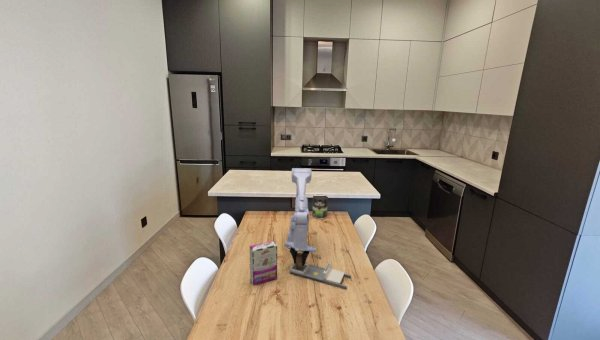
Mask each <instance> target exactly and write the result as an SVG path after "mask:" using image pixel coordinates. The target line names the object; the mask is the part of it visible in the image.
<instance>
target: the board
mask: <svg viewBox="0 0 600 340" xmlns="http://www.w3.org/2000/svg"><path fill="white" fill-rule="evenodd" d="M324 270H325V268H324V267H321V266H317V265H316V266H315V265H312V264H309V263H305V265H304V266H303V269H297V268H296V264H294V263H293V264H292V265H291V266H290V268H289V274H290V275H292V276H296V277H300V278H304V279H307V280H311V281H315V282H318V283H322V284H325V285H329V286H333V287H336V288H339V289H344V290H347V288H348V286H347V285H344V284H340V285H339V284H335V283H332V282H328V281H324V280H323V272H324ZM343 278H347V279H352V275H350V274H347V273H345V274H344V276H343Z"/></svg>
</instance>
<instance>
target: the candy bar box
mask: <svg viewBox="0 0 600 340" xmlns="http://www.w3.org/2000/svg"><path fill="white" fill-rule="evenodd" d="M249 276H250V277H249V278H250V282H251V283H252V285H253V286H256V285H260V284H262V283H263V284H264V283H267V282H270V281H274V280H277V279H278V244H277V243H276V242H275V241H274V240H271V241H270V240H269V241H266V242H261V243H257V244H251V245H249Z"/></svg>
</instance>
